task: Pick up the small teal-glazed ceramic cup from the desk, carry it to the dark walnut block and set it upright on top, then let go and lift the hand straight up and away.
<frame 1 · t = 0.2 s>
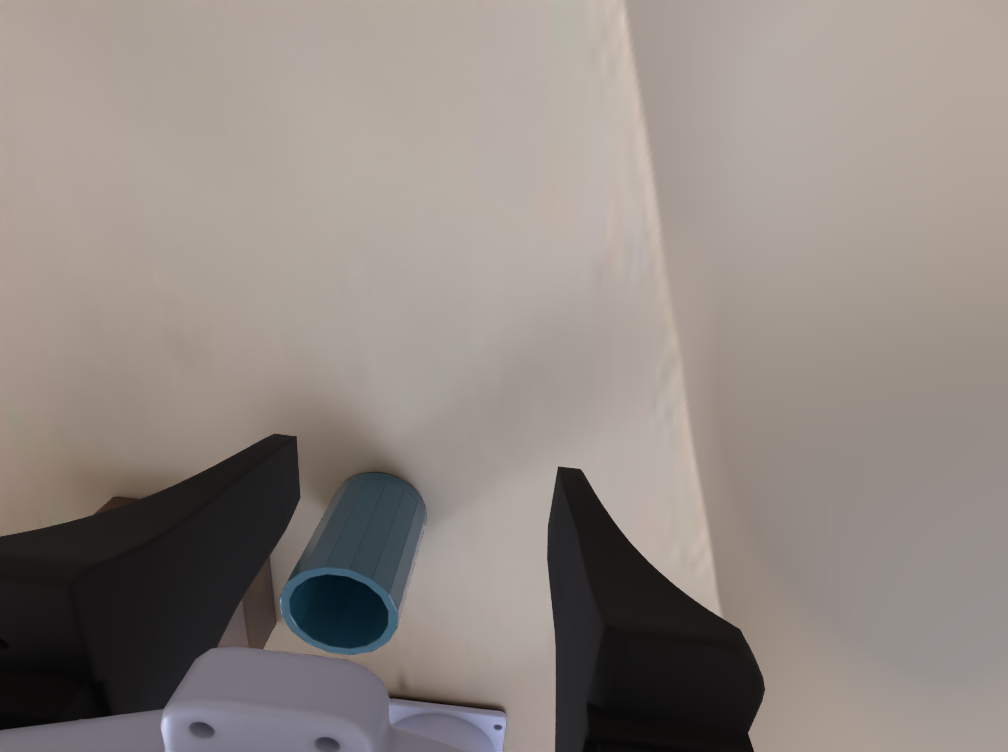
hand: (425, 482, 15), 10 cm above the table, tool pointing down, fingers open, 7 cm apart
walnut block: (199, 563, 30), on the table
small cup: (380, 511, 28), on the table
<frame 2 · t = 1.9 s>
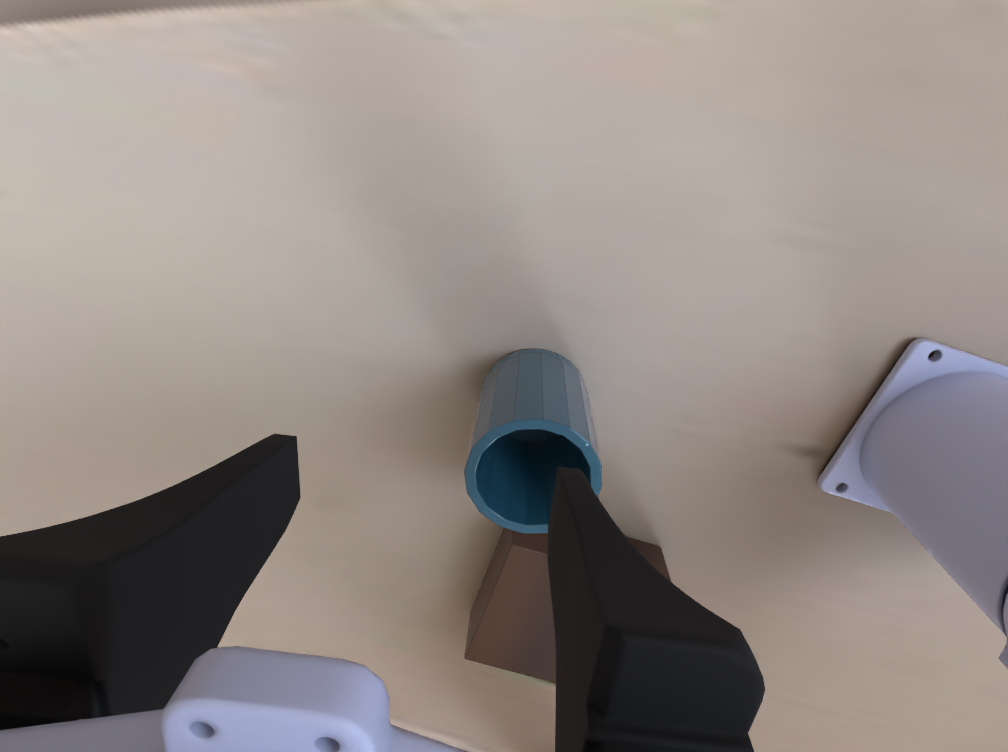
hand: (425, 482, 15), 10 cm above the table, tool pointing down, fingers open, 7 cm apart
walnut block: (561, 581, 30), on the table
small cup: (533, 396, 25), on the table
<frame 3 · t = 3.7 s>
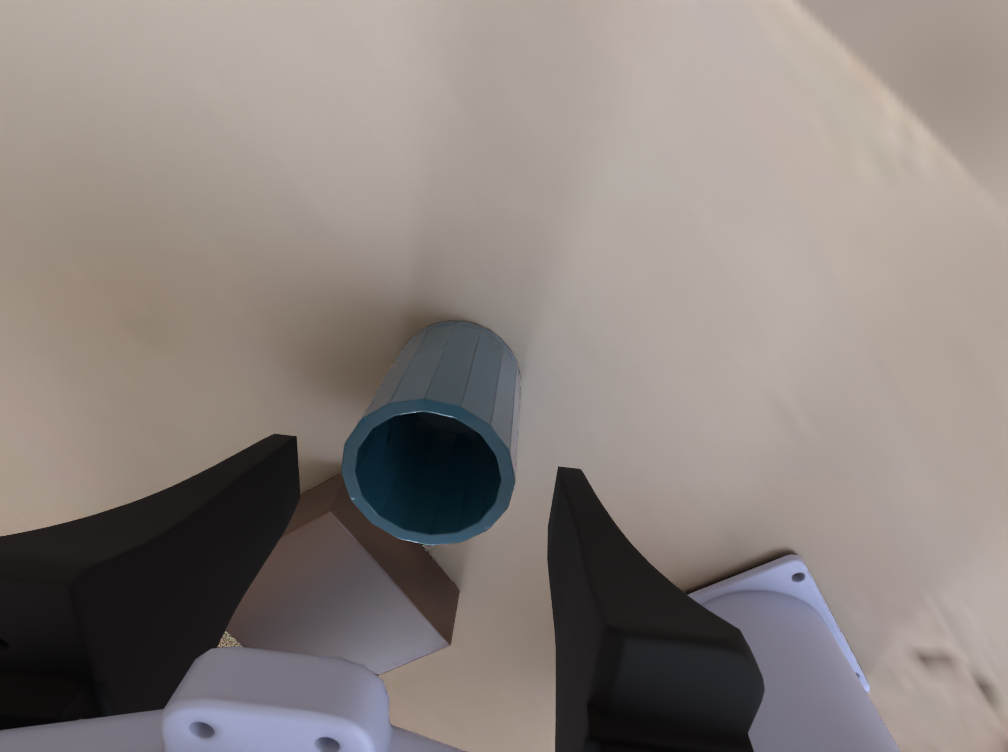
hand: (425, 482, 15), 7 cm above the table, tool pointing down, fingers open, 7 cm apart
walnut block: (340, 565, 25), on the table
small cup: (457, 379, 21), on the table
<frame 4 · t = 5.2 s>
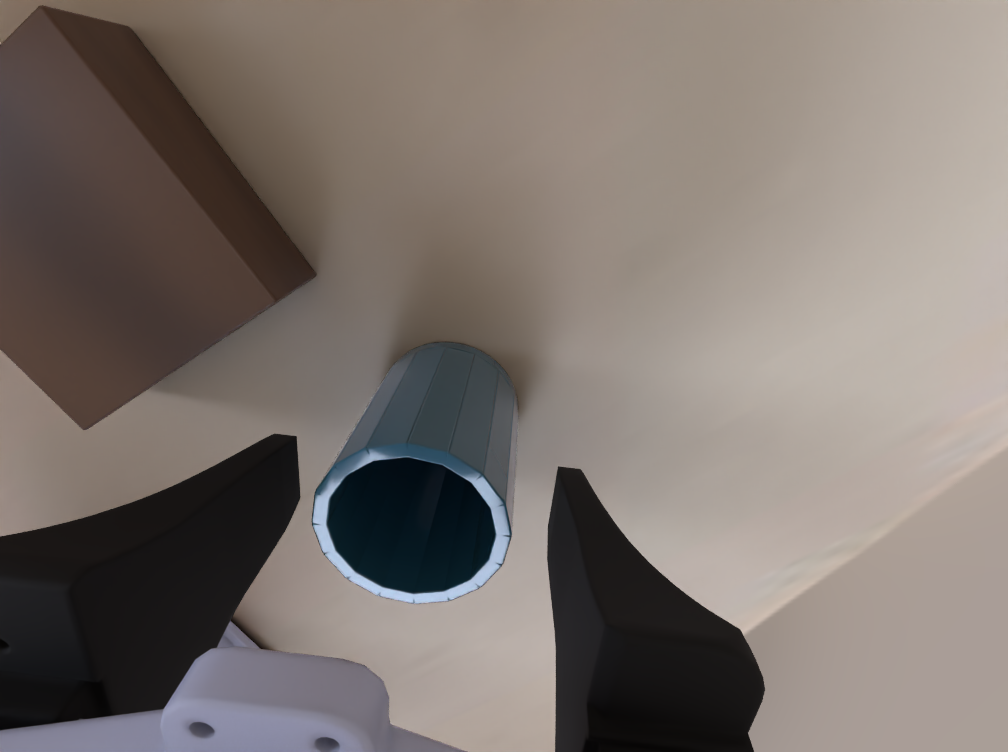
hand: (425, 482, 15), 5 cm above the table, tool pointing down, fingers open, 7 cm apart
walnut block: (139, 232, 17), on the table
small cup: (449, 405, 19), on the table
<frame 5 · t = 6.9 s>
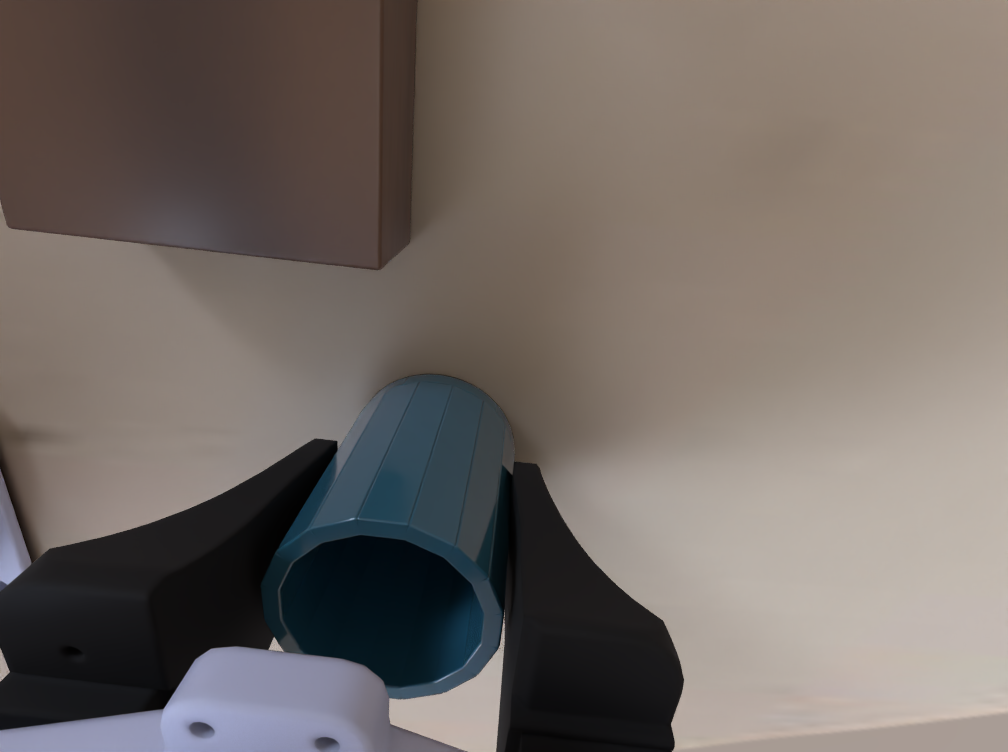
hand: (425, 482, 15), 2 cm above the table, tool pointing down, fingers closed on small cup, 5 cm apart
walnut block: (243, 50, 13), on the table
small cup: (435, 445, 17), on the table, touching gripper
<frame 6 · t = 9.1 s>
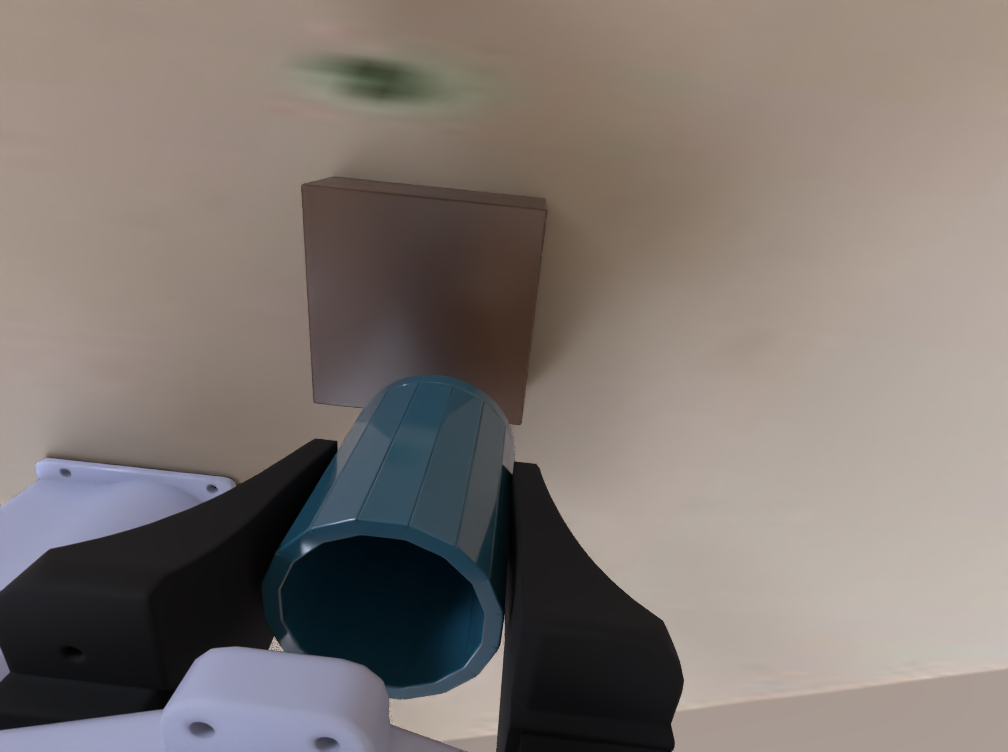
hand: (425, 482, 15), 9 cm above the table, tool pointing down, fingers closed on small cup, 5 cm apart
walnut block: (434, 291, 22), on the table
small cup: (436, 445, 17), point 7 cm above the table, touching gripper
when the fingers open (5 cm above the table, at t = 11.1 s): small cup stays where it is, resting on walnut block.
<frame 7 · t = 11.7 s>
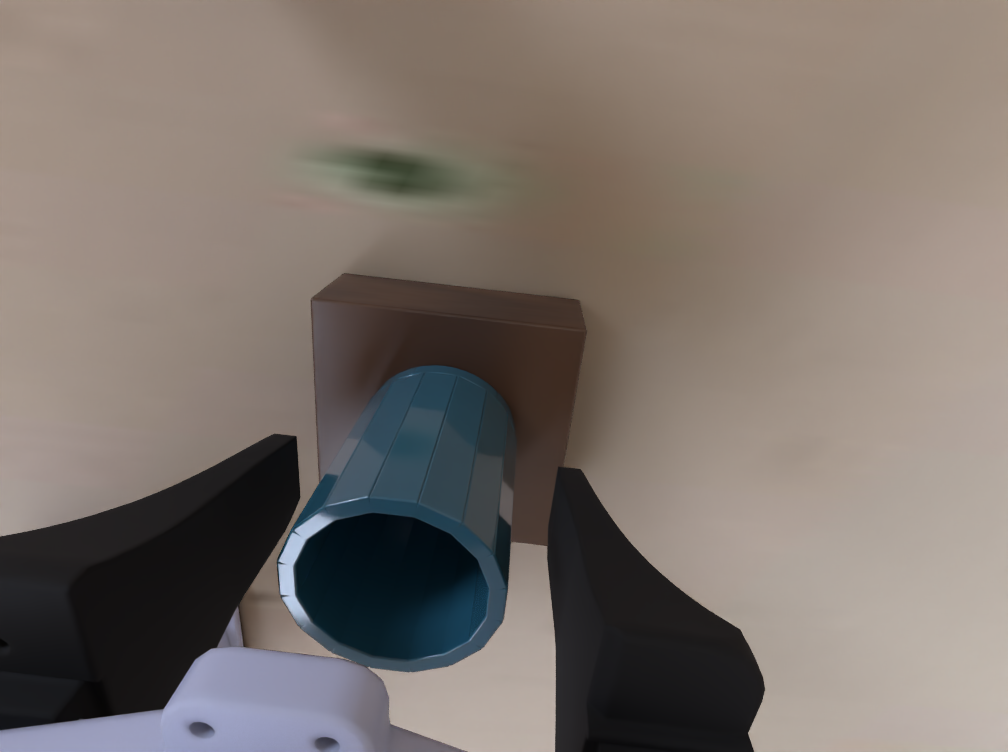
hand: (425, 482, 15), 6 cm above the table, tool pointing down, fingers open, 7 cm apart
walnut block: (453, 392, 20), on the table, touching small cup
small cup: (440, 434, 17), point 3 cm above the table, touching walnut block
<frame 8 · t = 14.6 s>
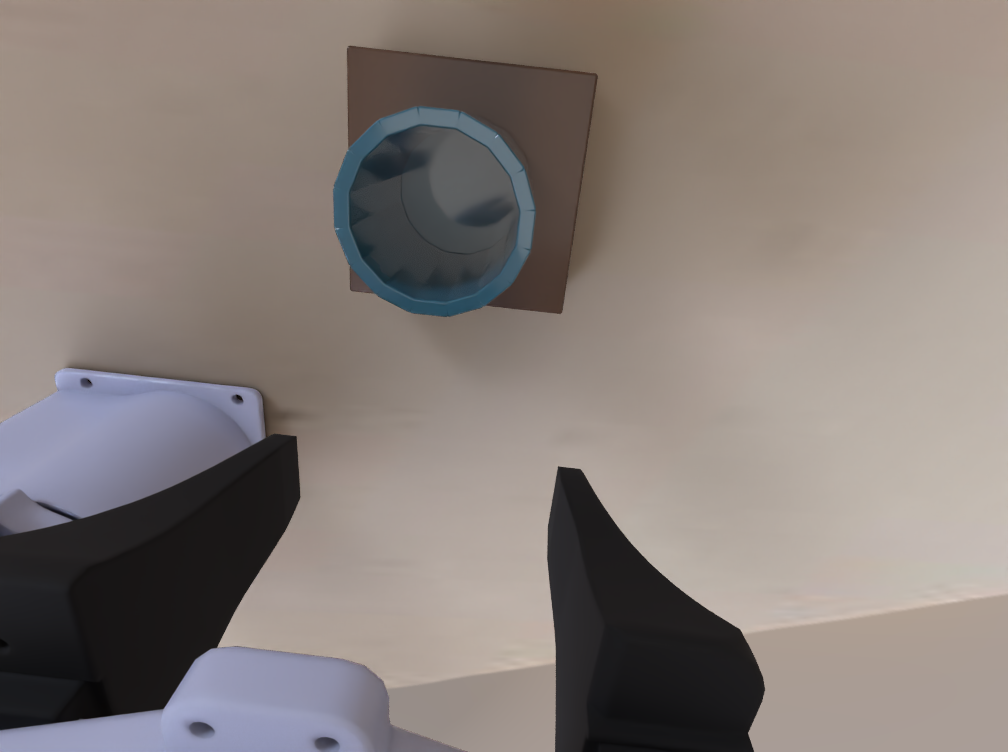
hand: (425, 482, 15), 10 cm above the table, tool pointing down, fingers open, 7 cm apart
walnut block: (471, 183, 22), on the table, touching small cup
small cup: (463, 191, 19), point 3 cm above the table, touching walnut block
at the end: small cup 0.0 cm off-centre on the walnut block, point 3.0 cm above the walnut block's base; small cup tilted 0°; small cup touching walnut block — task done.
